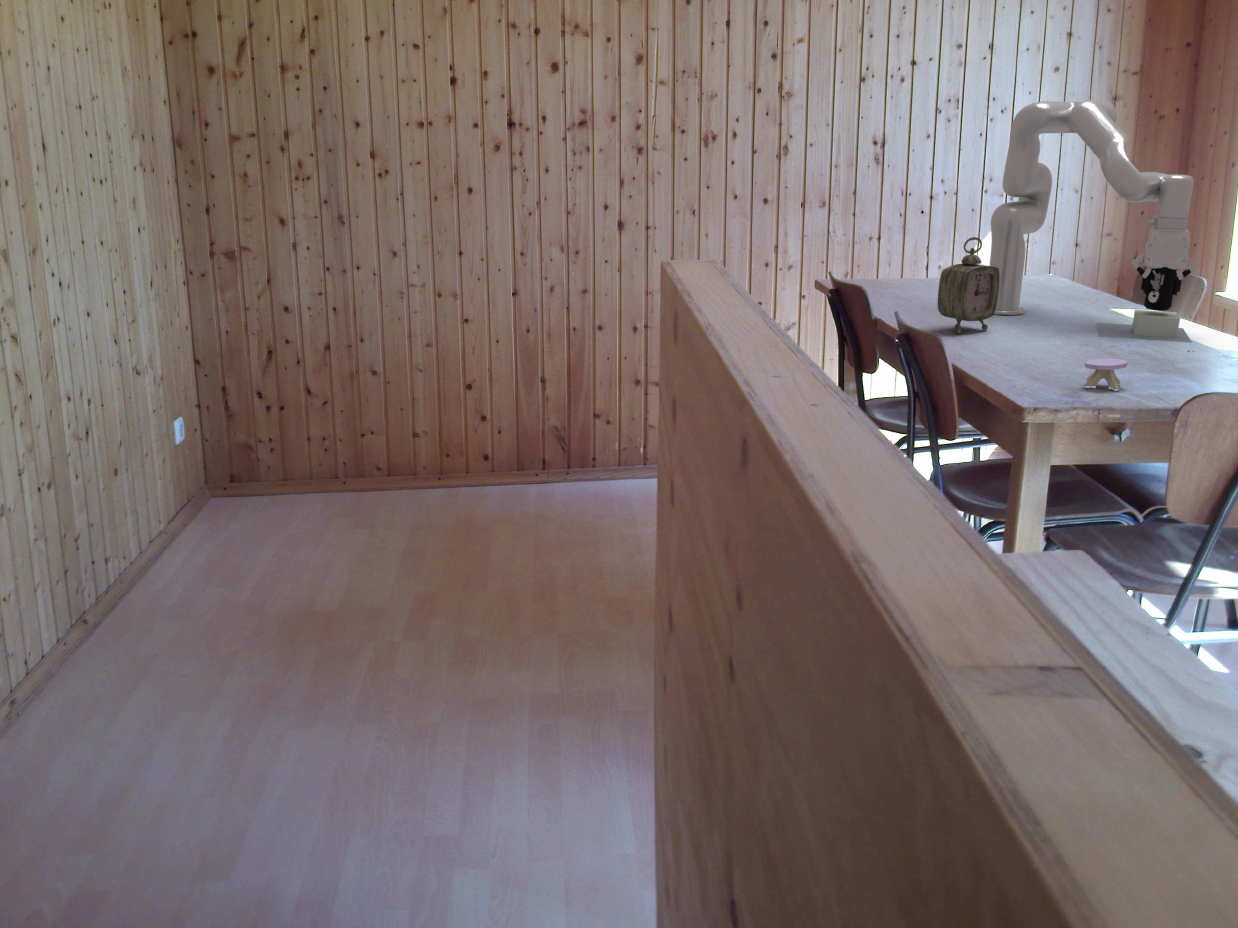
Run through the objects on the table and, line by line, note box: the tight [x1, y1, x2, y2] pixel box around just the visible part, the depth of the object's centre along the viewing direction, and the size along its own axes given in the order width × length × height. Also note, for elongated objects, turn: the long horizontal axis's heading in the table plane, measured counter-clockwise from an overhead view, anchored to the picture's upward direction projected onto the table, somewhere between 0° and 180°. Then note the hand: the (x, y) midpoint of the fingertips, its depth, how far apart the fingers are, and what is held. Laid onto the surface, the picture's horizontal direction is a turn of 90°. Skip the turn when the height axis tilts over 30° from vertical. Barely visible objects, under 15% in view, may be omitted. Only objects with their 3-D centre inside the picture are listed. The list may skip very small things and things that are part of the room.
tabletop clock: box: [937, 236, 999, 335], centre depth 300 cm, size 14×9×25 cm, turn 123°
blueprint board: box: [1095, 322, 1193, 343], centre depth 298 cm, size 22×20×1 cm
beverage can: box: [1143, 264, 1177, 312], centre depth 294 cm, size 7×7×12 cm
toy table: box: [1084, 357, 1128, 390], centre depth 244 cm, size 10×9×6 cm
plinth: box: [1132, 309, 1181, 338], centre depth 297 cm, size 10×10×5 cm
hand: (1159, 293), depth 294 cm, fingers closed on beverage can, 6 cm apart
